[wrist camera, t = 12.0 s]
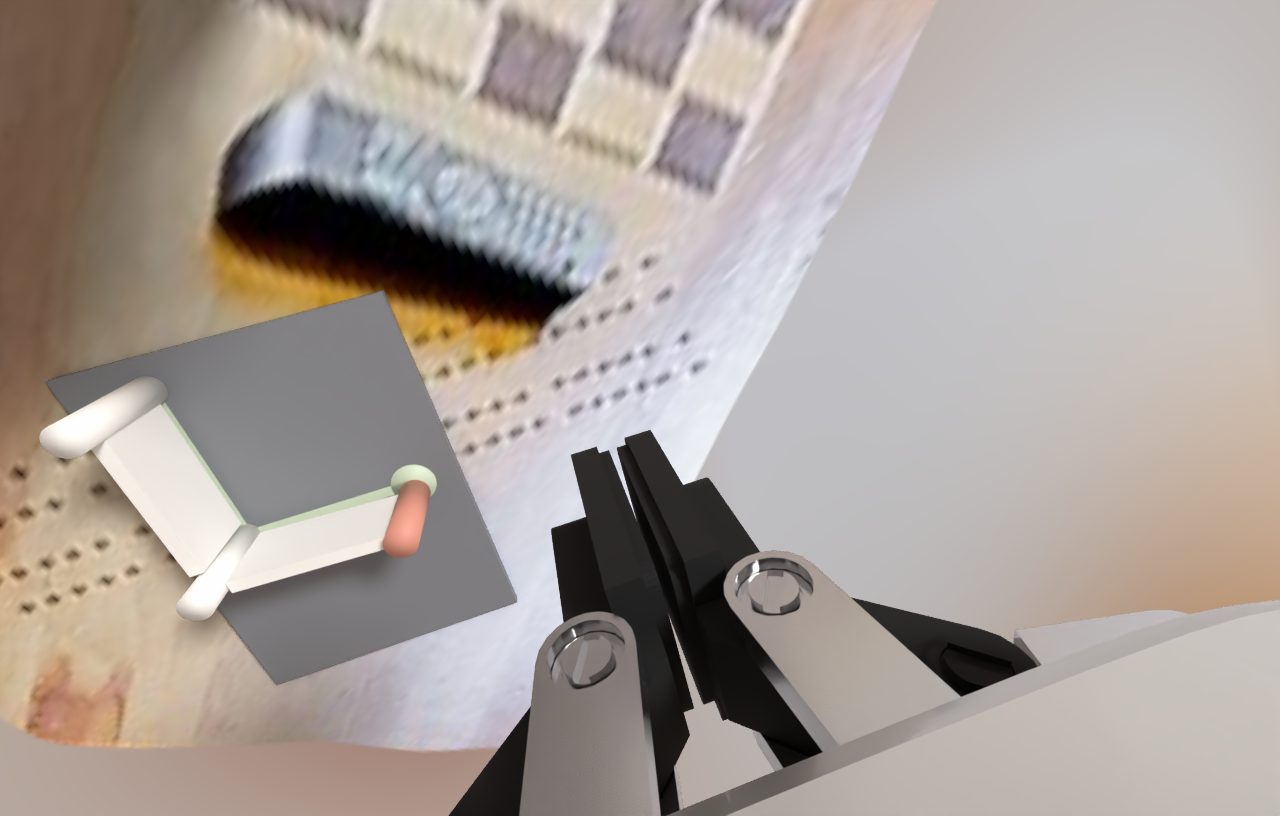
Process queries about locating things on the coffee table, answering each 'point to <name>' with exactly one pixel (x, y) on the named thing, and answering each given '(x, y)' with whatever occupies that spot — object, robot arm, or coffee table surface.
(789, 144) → the coffee table surface
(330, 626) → the card
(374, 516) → the fence swing section
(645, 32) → the coffee table surface
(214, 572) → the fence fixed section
